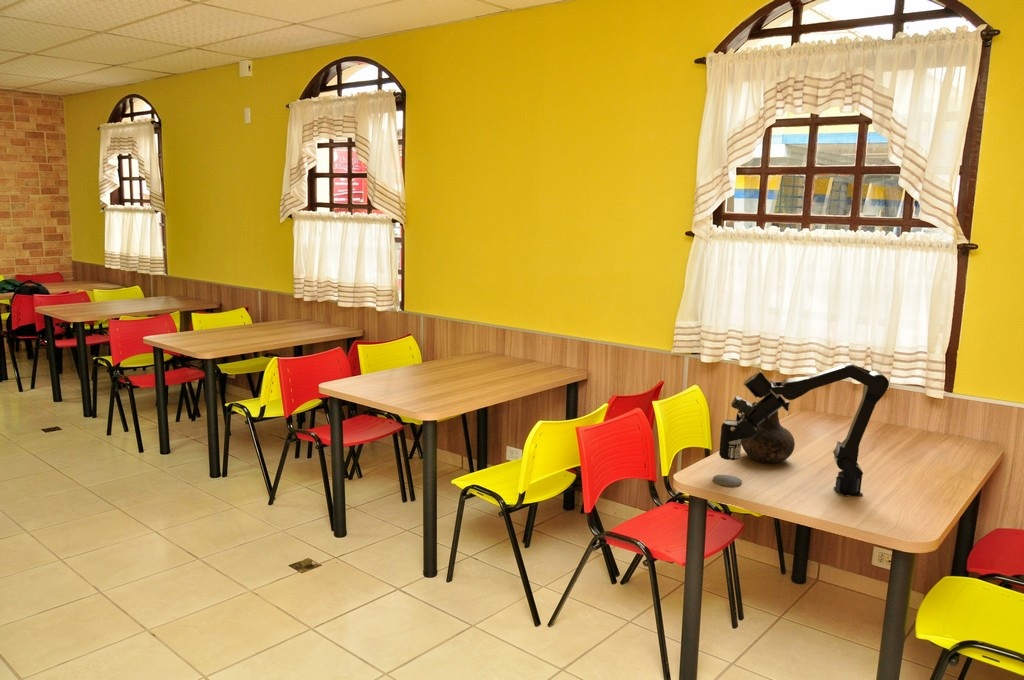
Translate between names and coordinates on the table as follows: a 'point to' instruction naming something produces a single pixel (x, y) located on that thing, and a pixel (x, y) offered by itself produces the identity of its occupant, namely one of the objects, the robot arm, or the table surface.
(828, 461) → the table surface
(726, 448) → the beverage can
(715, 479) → the coaster
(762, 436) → the brown vase
